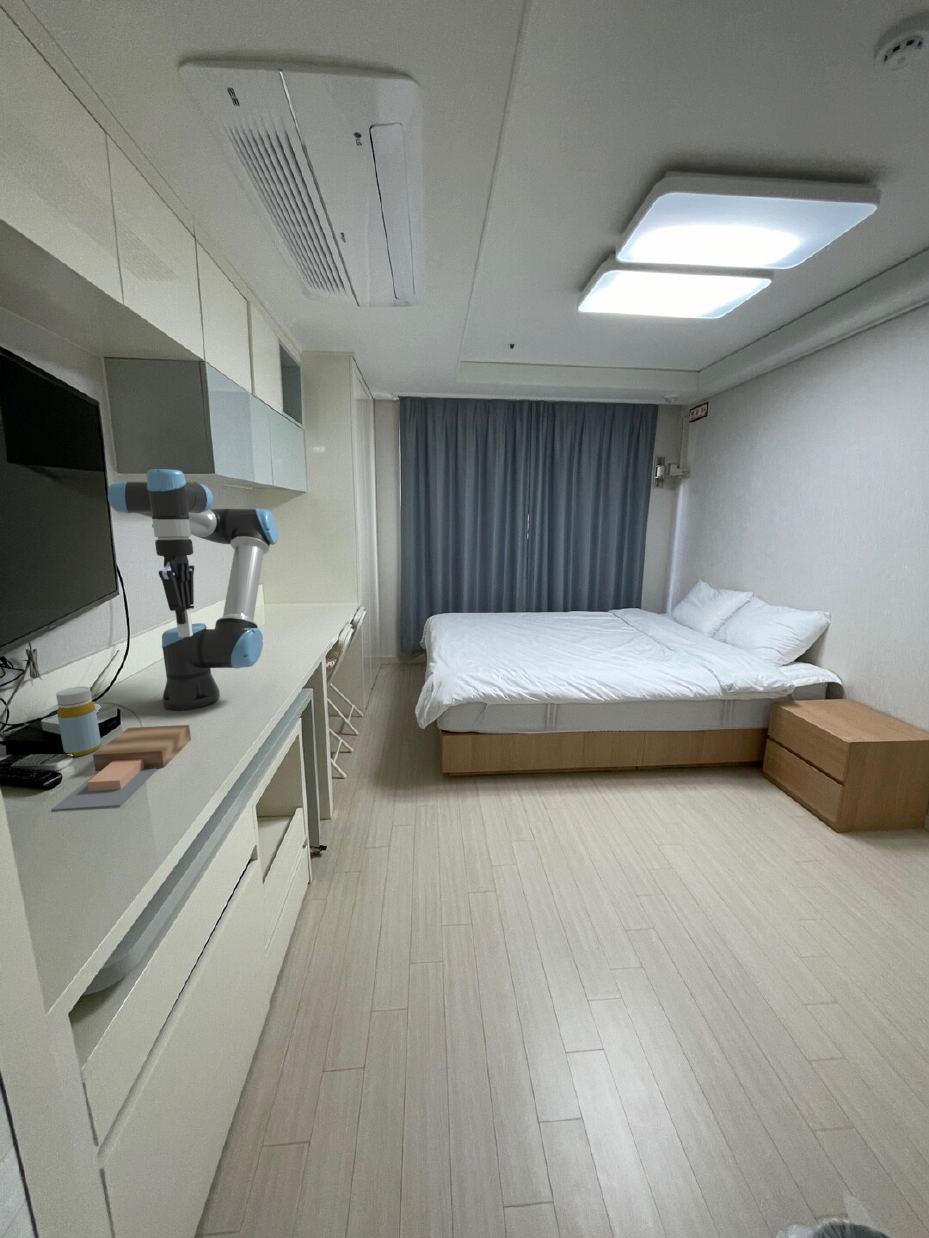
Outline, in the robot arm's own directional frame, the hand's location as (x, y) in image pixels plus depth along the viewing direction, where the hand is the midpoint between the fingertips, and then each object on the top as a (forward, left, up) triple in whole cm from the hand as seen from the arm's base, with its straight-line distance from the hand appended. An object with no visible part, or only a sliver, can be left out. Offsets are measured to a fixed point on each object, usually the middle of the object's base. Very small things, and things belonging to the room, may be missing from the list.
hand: (185, 635), depth 118 cm
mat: (+25, -8, -26) cm, 37 cm away
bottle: (+6, -24, -26) cm, 36 cm away
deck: (+10, -8, -26) cm, 29 cm away
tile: (+21, -8, -26) cm, 34 cm away
